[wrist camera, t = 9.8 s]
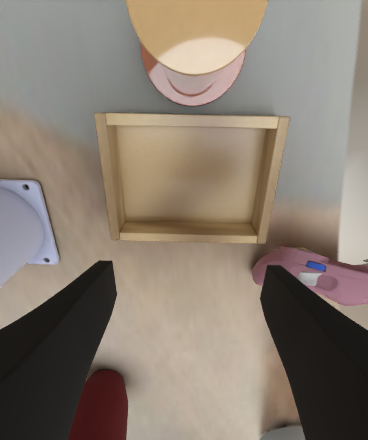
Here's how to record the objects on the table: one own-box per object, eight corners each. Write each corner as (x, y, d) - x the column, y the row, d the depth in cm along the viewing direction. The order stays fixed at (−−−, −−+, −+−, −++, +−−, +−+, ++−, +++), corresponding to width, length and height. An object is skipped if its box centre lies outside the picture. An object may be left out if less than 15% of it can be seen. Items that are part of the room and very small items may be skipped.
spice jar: (155, 90, 15) (129, 73, 9) (152, -5, 13) (115, -125, 7) (227, 91, 15) (258, 76, 9) (236, -4, 13) (285, -123, 7)
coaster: (144, 105, 16) (143, 105, 16) (138, -22, 13) (136, -26, 13) (238, 107, 16) (239, 107, 16) (252, -21, 13) (254, -24, 13)
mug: (54, 385, 31) (-1, 500, 22) (59, 347, 27) (-4, 464, 18) (132, 401, 32) (109, 515, 23) (145, 366, 29) (125, 484, 20)
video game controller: (348, 256, 23) (430, 272, 16) (338, 301, 23) (416, 336, 16) (256, 232, 22) (300, 237, 15) (244, 279, 22) (284, 306, 15)
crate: (120, 225, 20) (111, 240, 18) (107, 112, 16) (93, 112, 14) (256, 228, 20) (265, 244, 18) (276, 115, 16) (291, 116, 14)
